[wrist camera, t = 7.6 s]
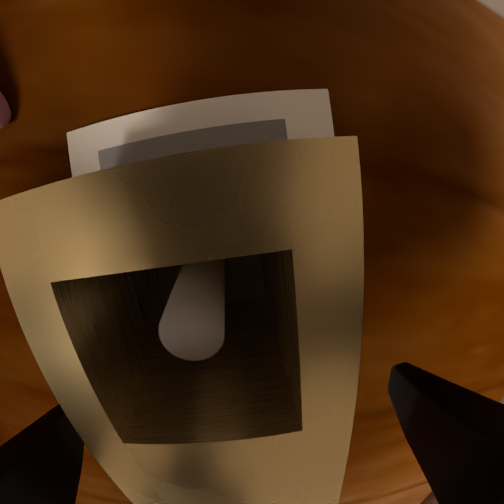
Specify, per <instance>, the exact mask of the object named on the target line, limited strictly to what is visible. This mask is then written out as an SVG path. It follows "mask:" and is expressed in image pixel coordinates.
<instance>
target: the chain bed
mask: <svg viewBox="0 0 504 504" xmlns="http://www.w3.org/2000/svg"><path fill="white" fill-rule="evenodd" d="M318 137H335V136H334V128H333V120H332V113H331V106H330V99H329V92H328V89H302V90H283V91H269V92H258V93H247V94H238V95H230V96H222V97H215V98H209V99H202V100H196V101H190V102H184V103H179V104H174V105H169V106H164V107H159V108H154V109H150V110H145V111H141V112H137V113H133V114H129V115H125V116H121V117H117V118H113V119H110V120H106V121H102V122H99V123H96V124H92V125H89V126H86V127H83V128H79V129H76V130H73V131H70V132H67V141H68V150H69V158H70V165H71V172H72V177H75V176H79V175H83V174H87V173H91V172H95V171H99V170H103V169H107V168H111V167H115V166H120V165H124V164H129V163H133V162H138V161H143V160H148V159H153V158H158V157H163V156H169V155H174V154H180V153H186V152H192V151H198V150H204V149H211V148H218V147H225V146H233V145H241V144H249V143H258V142H268V141H278V140H290V139H303V138H318ZM159 273H160V277H161V282H162V286H163V290H164V294H165V299H166V303H167V305H166V307H165V310H164V313H163V315H162V318H161V321H160V323H159V337H160V340H161V342H162V344H163V345H164V347H165V348H166V349H167V350H168V351H169V352H170V353H172V354H173V355H175V356H177V357H179V358H181V359H185V360H191V361H198V360H203V359H207V358H209V357H211V356H213V355H214V354H215V353H217V352H218V351H219V349H220V348H221V346H222V344H223V342H224V335H225V300H231V299H238V298H245V297H252V296H259V295H265V294H264V285H263V277H262V268H261V260H260V254H255V255H247V256H240V257H233V258H226V259H218V260H211V261H204V262H197V263H189V264H182V265H175V266H168V267H160V268H159Z"/></svg>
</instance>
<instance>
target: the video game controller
mask: <svg viewBox="0 0 504 504" xmlns="http://www.w3.org/2000/svg"><path fill="white" fill-rule="evenodd" d="M10 118H11V112H10V107H9V105H8V102H7V101H6V99H5V97H4V96H3V94H2V93H1V92H0V128H4V127H5V126H6V125H7V124H8V123H9V120H10Z"/></svg>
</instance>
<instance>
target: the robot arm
mask: <svg viewBox="0 0 504 504" xmlns="http://www.w3.org/2000/svg"><path fill="white" fill-rule="evenodd" d="M388 393H389V396H390V399H391V401H392V404H393V406H394V409H395V412H396V414H397V417H398V419H399V422H400V425H401V427H402V430H403V433H404V435H405V437H406V439H407V442H408V444H409V445H410V447H411V449H412V451H413V453H414V455H415V457H416V459H417V461H418V463H419V465H420V467H421V469H422V471H423V473H424V475H425V477H426V479H427V481H428V483H429V485H430V487H431V489H432V491H433V493H434V495H435V497H436V499H437V501H438V503H439V504H504V404H502V403H499V402H497V401H494V400H492V399H490V398H487V397H485V396H483V395H480V394H478V393H475V392H473V391H471V390H468V389H466V388H464V387H461V386H459V385H457V384H454V383H452V382H450V381H448V380H445V379H443V378H441V377H438V376H436V375H434V374H432V373H429V372H427V371H425V370H423V369H421V368H418V367H416V366H414V365H412V364H409V363H407V362H403V363H400V364H397V365H394V366H393V367H392V368H391V373H390V379H389V385H388ZM83 451H84V442H83V440H82V439H81V437H80V436H79V434H78V433H77V431H76V430H75V428H74V427H73V425H72V424H71V422H70V420H69V419H68V417H67V416H66V414H65V412H64V411H63V409H62V407H61V406H60V404H58V405H57V406H56V407H54V408H53V409H51V410H50V411H49V412H47V413H46V414H45V415H43V416H42V417H40V418H39V419H38V420H36V421H35V422H33V423H32V424H31V425H29V426H28V427H27V428H25V429H24V430H22V431H21V432H20V433H18V434H17V435H16V436H14V437H13V438H11V439H10V440H9V441H7V442H6V443H4V444H3V445H2V446H0V504H75V501H76V496H77V490H78V485H79V480H80V475H81V469H82V461H83Z"/></svg>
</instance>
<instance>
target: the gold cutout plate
mask: <svg viewBox="0 0 504 504" xmlns="http://www.w3.org/2000/svg"><path fill="white" fill-rule="evenodd" d="M255 254H260V260H261V268H262V277H263V285H264V294H265V295H259V296H252V297H245V298H238V299H231V300H225V335H224V342H223V344H222V346H221V348H220V349H219V351H218V352H217V353H215V354H214V355H213V356H211V357H209V358H207V359H203V360H198V361H191V360H185V359H181V358H179V357H177V356H175V355H173V354H172V353H170V352H169V351H168V350H167V349H166V348H165V347H164V345H163V344H162V342H161V340H160V337H159V323H160V321H161V318H162V315H163V313H164V310H165V307H166V305H167V303H166V299H165V294H164V290H163V286H162V282H161V277H160V273H159V268H160V267H168V266H175V265H182V264H189V263H197V262H204V261H211V260H218V259H226V258H233V257H240V256H247V255H255ZM0 267H1V271H2V274H3V277H4V280H5V284H6V287H7V290H8V293H9V296H10V298H11V301H12V304H13V307H14V309H15V312H16V315H17V317H18V320H19V322H20V325H21V327H22V330H23V332H24V335H25V337H26V339H27V341H28V344H29V346H30V348H31V350H32V353H33V355H34V357H35V359H36V361H37V363H38V365H39V367H40V369H41V371H42V373H43V375H44V377H45V379H46V381H47V383H48V384H49V386H50V388H51V390H52V392H53V394H54V395H55V397H56V399H57V401H58V402H59V404H60V406H61V407H62V409H63V411H64V412H65V414H66V416H67V417H68V419H69V420H70V422H71V424H72V425H73V427H74V428H75V430H76V431H77V433H78V434H79V436H80V437H81V439H82V440H83V442H84V443H85V444H86V446H87V447H88V449H89V450H90V451H91V453H92V454H93V456H94V457H95V458H96V460H97V461H98V462H99V464H100V465H101V466H102V467H103V469H104V470H105V471H106V473H107V474H108V475H109V476H110V478H111V479H112V480H113V481H114V482H115V484H116V485H117V486H118V487H119V488H120V489H121V491H122V492H123V493H124V494H125V495H126V496H127V497H128V499H129V500H130V501H131V502H132V503H133V504H338V502H339V497H340V493H341V488H342V484H343V479H344V474H345V469H346V463H347V458H348V452H349V446H350V440H351V434H352V427H353V420H354V412H355V405H356V396H357V387H358V378H359V367H360V355H361V341H362V324H363V298H364V229H363V203H362V186H361V172H360V160H359V149H358V139H357V136H338V137H318V138H303V139H290V140H278V141H268V142H258V143H249V144H241V145H233V146H225V147H218V148H211V149H204V150H198V151H192V152H186V153H180V154H174V155H169V156H163V157H158V158H153V159H148V160H143V161H138V162H133V163H129V164H124V165H120V166H115V167H111V168H107V169H103V170H99V171H95V172H91V173H87V174H83V175H79V176H75V177H72V178H68V179H64V180H61V181H57V182H54V183H51V184H47V185H44V186H41V187H38V188H34V189H31V190H28V191H25V192H22V193H19V194H16V195H13V196H10V197H7V198H4V199H2V200H0Z"/></svg>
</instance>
